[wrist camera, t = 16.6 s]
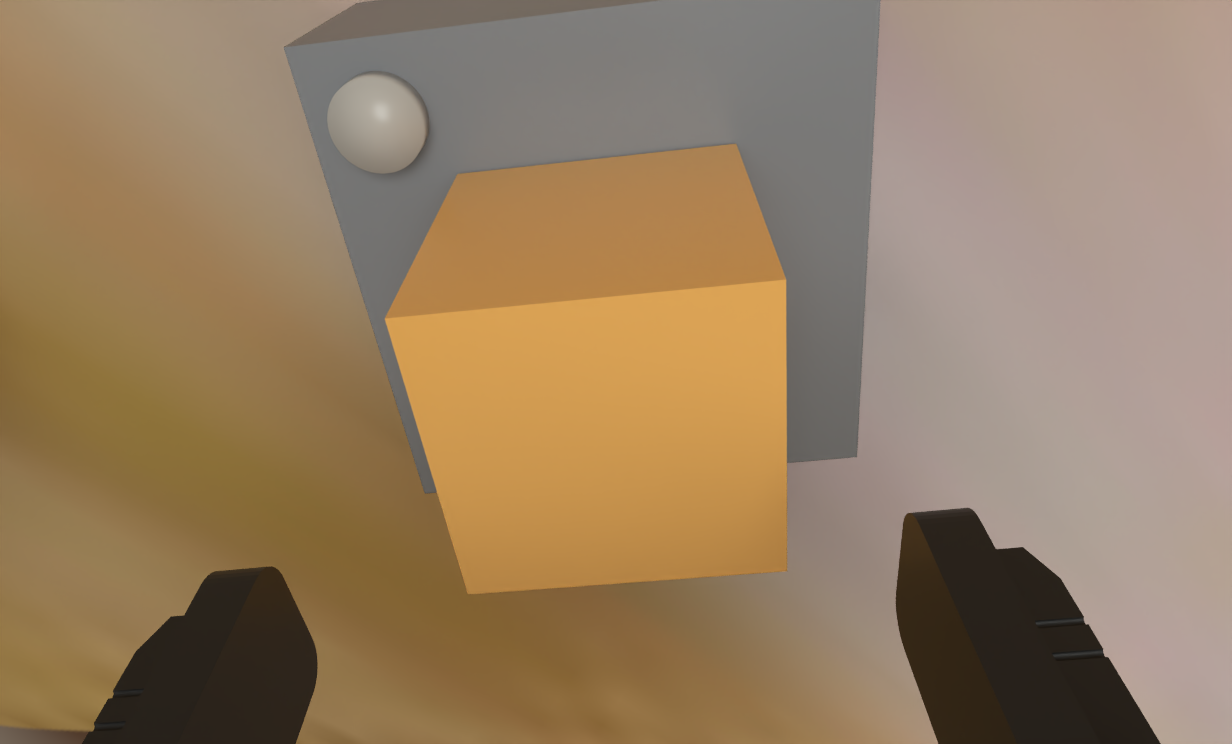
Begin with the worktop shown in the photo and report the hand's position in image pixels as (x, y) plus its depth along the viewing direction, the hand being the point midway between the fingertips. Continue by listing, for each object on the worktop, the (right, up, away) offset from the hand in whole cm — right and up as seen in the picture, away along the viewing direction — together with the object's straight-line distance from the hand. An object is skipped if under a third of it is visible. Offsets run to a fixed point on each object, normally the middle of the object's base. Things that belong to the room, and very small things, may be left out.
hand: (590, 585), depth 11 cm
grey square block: (0, +7, +12) cm, 14 cm away
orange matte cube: (0, +5, +7) cm, 9 cm away
